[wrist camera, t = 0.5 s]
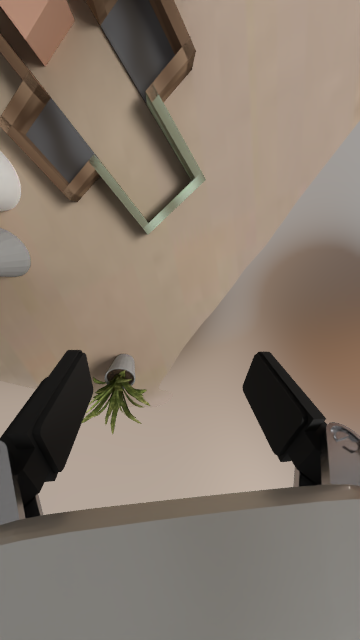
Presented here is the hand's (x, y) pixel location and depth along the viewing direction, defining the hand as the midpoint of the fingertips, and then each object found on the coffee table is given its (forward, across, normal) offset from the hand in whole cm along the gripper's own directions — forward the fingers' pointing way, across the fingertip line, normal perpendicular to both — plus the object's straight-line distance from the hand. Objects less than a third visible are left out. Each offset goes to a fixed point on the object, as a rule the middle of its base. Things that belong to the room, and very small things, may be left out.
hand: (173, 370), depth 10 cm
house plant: (+30, +10, +28) cm, 42 cm away
